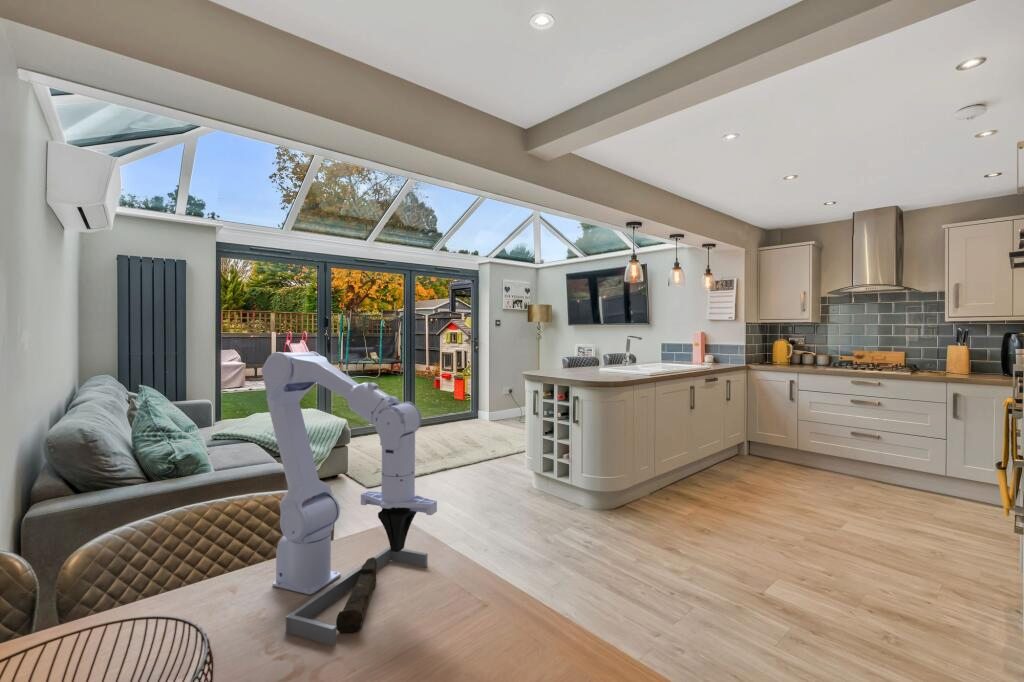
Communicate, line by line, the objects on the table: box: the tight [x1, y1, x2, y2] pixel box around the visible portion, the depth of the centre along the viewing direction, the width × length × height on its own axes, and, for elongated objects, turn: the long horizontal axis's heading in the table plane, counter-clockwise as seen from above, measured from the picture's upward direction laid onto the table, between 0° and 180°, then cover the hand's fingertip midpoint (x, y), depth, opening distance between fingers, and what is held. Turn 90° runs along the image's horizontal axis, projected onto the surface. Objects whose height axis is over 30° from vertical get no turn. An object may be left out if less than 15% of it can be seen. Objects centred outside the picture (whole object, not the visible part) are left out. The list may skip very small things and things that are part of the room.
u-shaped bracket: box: [285, 546, 429, 647], centre depth 86 cm, size 9×28×2 cm, turn 159°
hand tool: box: [335, 556, 378, 635], centre depth 84 cm, size 19×4×5 cm, turn 2°
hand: (397, 549), depth 84 cm, fingers closed
